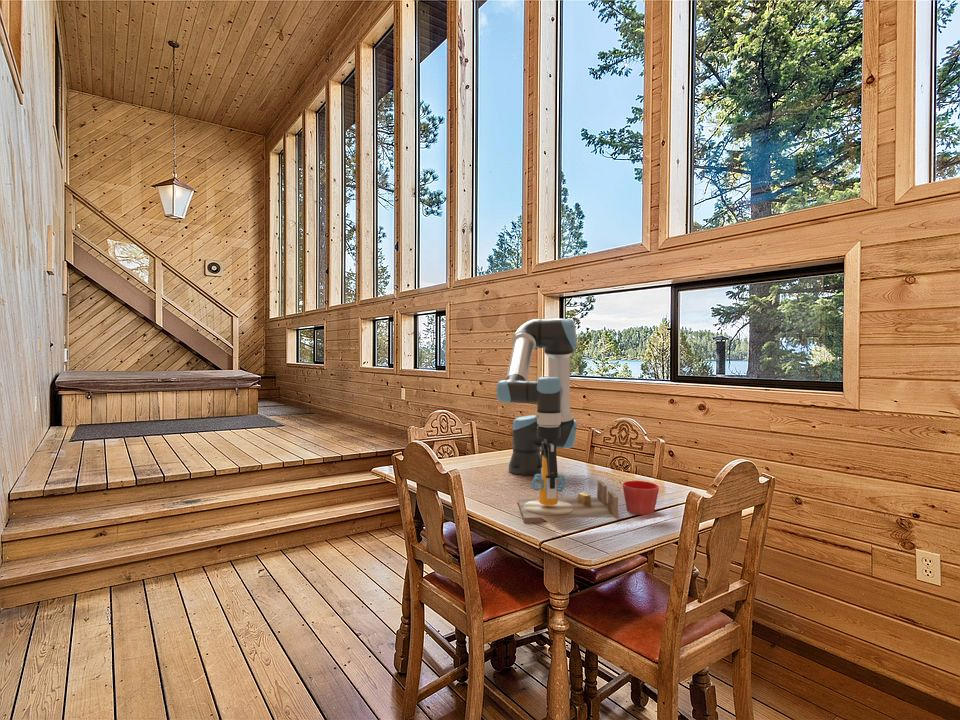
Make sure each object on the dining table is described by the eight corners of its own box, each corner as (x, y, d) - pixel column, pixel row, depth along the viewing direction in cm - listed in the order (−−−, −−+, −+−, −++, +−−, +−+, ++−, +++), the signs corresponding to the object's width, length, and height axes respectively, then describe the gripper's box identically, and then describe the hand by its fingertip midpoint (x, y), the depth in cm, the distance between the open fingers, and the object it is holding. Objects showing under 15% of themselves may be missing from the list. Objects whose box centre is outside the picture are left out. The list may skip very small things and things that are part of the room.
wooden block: (577, 501, 176) (577, 492, 175) (584, 500, 177) (584, 492, 176) (584, 505, 172) (584, 496, 172) (590, 504, 173) (590, 495, 173)
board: (517, 502, 180) (517, 480, 179) (601, 501, 180) (602, 480, 180) (524, 522, 160) (524, 498, 159) (619, 521, 161) (619, 497, 160)
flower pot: (633, 507, 174) (633, 478, 174) (664, 515, 166) (665, 484, 166) (615, 514, 167) (616, 484, 167) (647, 523, 159) (647, 491, 159)
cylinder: (564, 509, 163) (564, 461, 162) (530, 507, 165) (530, 459, 164) (565, 498, 175) (565, 453, 174) (534, 496, 177) (534, 451, 176)
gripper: (532, 419, 181) (531, 482, 182) (542, 431, 157) (542, 504, 158) (553, 419, 181) (553, 482, 182) (567, 431, 157) (567, 503, 158)
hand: (548, 492), depth 170 cm, fingers closed on cylinder, 12 cm apart
